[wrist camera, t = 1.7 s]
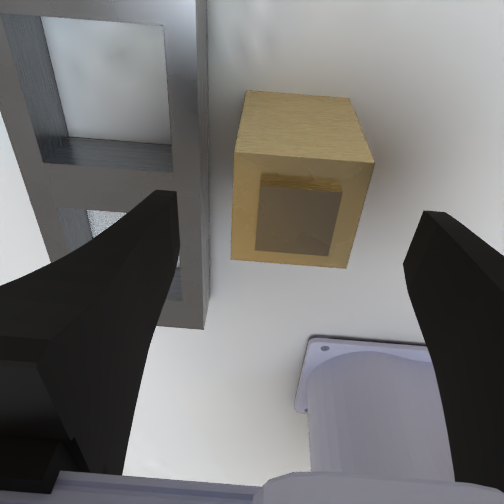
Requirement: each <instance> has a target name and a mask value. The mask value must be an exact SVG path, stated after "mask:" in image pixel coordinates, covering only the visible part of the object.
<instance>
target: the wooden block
mask: <svg viewBox="0 0 504 504" xmlns="http://www.w3.org/2000/svg"><path fill="white" fill-rule="evenodd" d="M374 165H375V162H374V159H373V157H372V154H371V152H370V149H369V147H368V144H367V142H366V139H365V137H364V134H363V131H362V129H361V126H360V124H359V121H358V119H357V116H356V114H355V111H354V109H353V106H352V104H351V101H350V99H349V98H338V97H325V96H312V95H300V94H287V93H274V92H261V91H248V90H247V91H246V96H245V101H244V106H243V111H242V116H241V121H240V126H239V131H238V136H237V141H236V146H235V151H234V174H233V204H232V233H231V260H243V261H256V262H269V263H281V264H294V265H306V266H319V267H331V268H344V269H346V267H347V264H348V260H349V256H350V253H351V249H352V245H353V242H354V238H355V234H356V231H357V227H358V223H359V220H360V216H361V212H362V209H363V205H364V201H365V198H366V194H367V190H368V187H369V183H370V179H371V176H372V172H373V168H374Z"/></svg>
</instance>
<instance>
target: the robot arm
mask: <svg viewBox="0 0 504 504" xmlns="http://www.w3.org/2000/svg"><path fill="white" fill-rule="evenodd" d="M179 251H180V233H179V218H178V203H177V191H168V190H155V191H153V192H152V193H151V194H150V195H149V196H147V197H146V198H145V199H144V200H143V201H141V202H140V203H139V204H138V205H137V206H135V207H134V208H133V209H132V210H131V211H129V212H128V213H127V214H126V215H124V216H123V217H122V218H121V219H119V220H118V221H117V222H116V223H114V224H113V225H111V226H110V227H109V228H107V229H106V230H104V231H103V232H102V233H100V234H99V235H97V236H96V237H95V238H93V239H92V240H90V241H89V242H87V243H86V244H84V245H82V246H81V247H79V248H78V249H76V250H74V251H72V252H71V253H69V254H67V255H65V256H64V257H62V258H60V259H58V260H56V261H54V262H52V263H50V264H48V265H46V266H44V267H42V268H40V269H38V270H36V271H34V272H32V273H29V274H27V275H25V276H23V277H21V278H18V279H16V280H14V281H11V282H9V283H6V284H4V285H1V286H0V504H504V256H503V255H502V254H500V253H499V252H498V251H496V250H495V249H494V248H492V247H491V246H490V245H488V244H487V243H486V242H485V241H483V240H482V239H481V238H479V237H478V236H477V235H476V234H474V233H473V232H472V231H470V230H469V229H468V228H467V227H465V226H464V225H463V224H461V223H460V222H459V221H457V220H456V219H455V218H453V217H452V216H450V215H449V214H447V213H445V212H436V211H423V214H422V216H421V219H420V221H419V224H418V227H417V229H416V232H415V234H414V237H413V239H412V242H411V245H410V247H409V250H408V252H407V255H406V257H405V260H404V262H403V267H404V273H405V279H406V284H407V289H408V294H409V297H410V300H411V303H412V306H413V309H414V312H415V315H416V317H417V320H418V323H419V326H420V329H421V332H422V334H423V337H424V340H425V343H426V346H427V347H426V346H414V345H401V344H389V343H377V342H364V341H352V340H340V339H327V338H312V339H311V340H309V342H308V345H307V350H306V354H305V359H304V363H303V367H302V372H301V376H300V380H299V385H298V389H297V393H296V398H295V402H294V410H295V411H296V412H298V413H308V427H309V445H310V463H311V472H292V473H289V474H286V475H283V476H279V477H276V478H273V479H270V480H268V481H267V482H266V483H265V484H264V485H263V486H262V487H257V486H245V485H232V484H220V483H208V482H195V481H183V480H170V479H158V478H146V477H133V476H122V473H123V468H124V462H125V457H126V451H127V446H128V441H129V436H130V431H131V426H132V421H133V416H134V411H135V407H136V402H137V398H138V393H139V389H140V384H141V380H142V375H143V371H144V367H145V363H146V359H147V354H148V350H149V346H150V343H151V340H152V337H153V333H154V331H155V328H156V325H157V322H158V320H159V317H160V314H161V311H162V308H163V306H164V303H165V300H166V297H167V295H168V292H169V289H170V286H171V283H172V280H173V277H174V275H175V270H176V266H177V261H178V256H179Z"/></svg>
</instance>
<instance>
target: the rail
mask: <svg viewBox="0 0 504 504" xmlns="http://www.w3.org/2000/svg"><path fill="white" fill-rule="evenodd" d="M40 16H48V17H60V18H73V19H86V20H99V21H112V22H125V23H138V24H151V25H163V28H164V43H165V57H166V71H167V85H168V100H169V114H170V128H171V142H172V145H163V144H150V143H138V142H125V141H112V140H99V139H87V138H74V137H68V133H67V129H66V125H65V120H64V116H63V112H62V108H61V103H60V99H59V95H58V91H57V87H56V82H55V78H54V74H53V70H52V66H51V61H50V57H49V53H48V49H47V44H46V40H45V36H44V32H43V28H42V23H41V19H40ZM0 111H1V114H2V117H3V120H4V123H5V126H6V129H7V132H8V135H9V138H10V141H11V144H12V147H13V150H14V153H15V156H16V159H17V162H18V165H19V168H20V171H21V174H22V177H23V180H24V183H25V186H26V189H27V192H28V195H29V198H30V201H31V204H32V207H33V210H34V213H35V216H36V219H37V222H38V225H39V228H40V231H41V234H42V237H43V240H44V243H45V246H46V249H47V252H48V255H49V258H50V261H51V263H52V262H54V261H56V260H58V259H60V258H62V257H64V256H65V255H67V254H69V253H71V252H72V251H74V250H76V249H78V248H79V247H81V246H82V245H84V244H86V243H87V242H89V241H90V240H92V239H93V238H92V234H91V230H90V226H89V221H88V217H87V213H86V210H99V211H111V212H124V213H128V212H129V211H131V210H132V209H133V208H134V207H135V206H137V205H138V204H139V203H140V202H141V201H143V200H144V199H145V198H146V197H147V196H149V195H150V194H151V193H152V192H153V191H155V190H168V191H177V203H178V218H179V233H180V251H179V256H180V268H176V270H175V275H174V277H173V280H172V283H171V286H170V289H169V292H168V295H167V297H166V300H165V303H164V306H163V308H162V311H161V314H160V317H159V320H158V322H157V325H156V326H164V327H176V328H189V329H201V330H204V325H205V320H206V315H207V309H208V304H209V299H210V255H209V149H208V44H207V0H0Z"/></svg>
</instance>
